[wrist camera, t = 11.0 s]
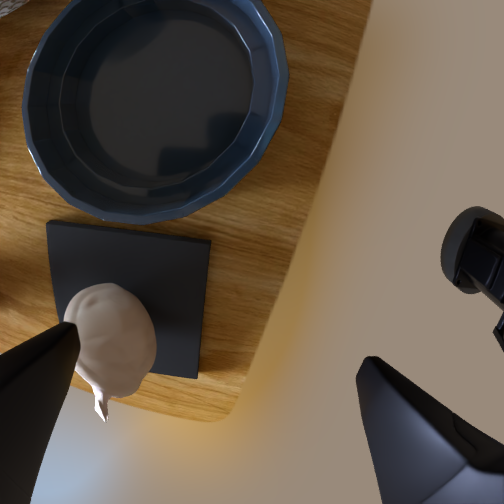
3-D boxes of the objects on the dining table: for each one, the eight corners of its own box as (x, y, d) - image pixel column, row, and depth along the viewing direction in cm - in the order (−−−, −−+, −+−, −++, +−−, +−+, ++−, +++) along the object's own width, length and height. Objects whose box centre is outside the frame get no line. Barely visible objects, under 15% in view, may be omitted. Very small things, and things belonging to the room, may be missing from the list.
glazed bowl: (291, 6, 14) (306, -24, 10) (254, 215, 19) (260, 241, 15) (83, 1, 13) (52, -20, 8) (55, 193, 18) (18, 211, 14)
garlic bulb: (78, 321, 21) (34, 392, 14) (95, 255, 19) (35, 322, 11) (152, 356, 22) (129, 437, 15) (180, 296, 20) (157, 382, 13)
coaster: (211, 240, 20) (210, 244, 19) (198, 372, 24) (197, 379, 24) (51, 219, 18) (45, 223, 18) (69, 348, 23) (66, 353, 22)
